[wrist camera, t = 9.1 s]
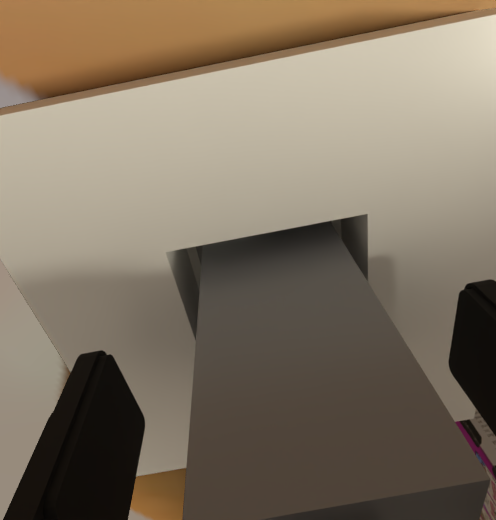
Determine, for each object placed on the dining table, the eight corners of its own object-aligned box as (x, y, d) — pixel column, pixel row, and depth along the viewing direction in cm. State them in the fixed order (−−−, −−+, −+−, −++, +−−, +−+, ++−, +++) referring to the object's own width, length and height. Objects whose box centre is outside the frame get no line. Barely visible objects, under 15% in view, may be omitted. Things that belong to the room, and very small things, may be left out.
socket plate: (477, 10, 10) (607, -6, 7) (433, 359, 17) (485, 436, 14) (-3, 108, 11) (-108, 140, 7) (148, 409, 18) (131, 497, 14)
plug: (319, 205, 12) (651, 738, 3) (329, 307, 15) (532, 791, 5) (204, 229, 12) (160, 809, 3) (232, 327, 15) (256, 829, 5)
